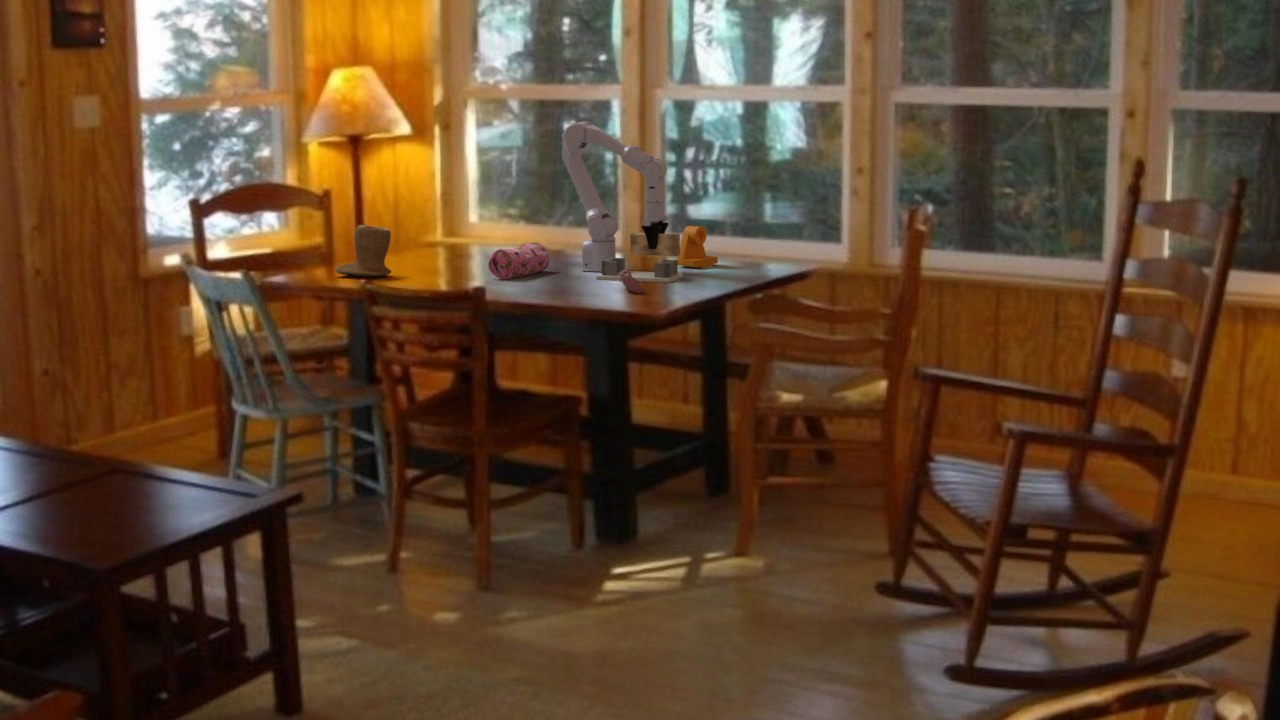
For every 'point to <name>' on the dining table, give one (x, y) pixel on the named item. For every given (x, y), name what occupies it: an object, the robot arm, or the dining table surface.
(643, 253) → the wooden block
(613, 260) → the cradle
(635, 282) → the pink rounded piece
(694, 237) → the bracket
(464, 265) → the dining table surface
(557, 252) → the dining table surface
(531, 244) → the pencil case
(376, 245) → the top hat
